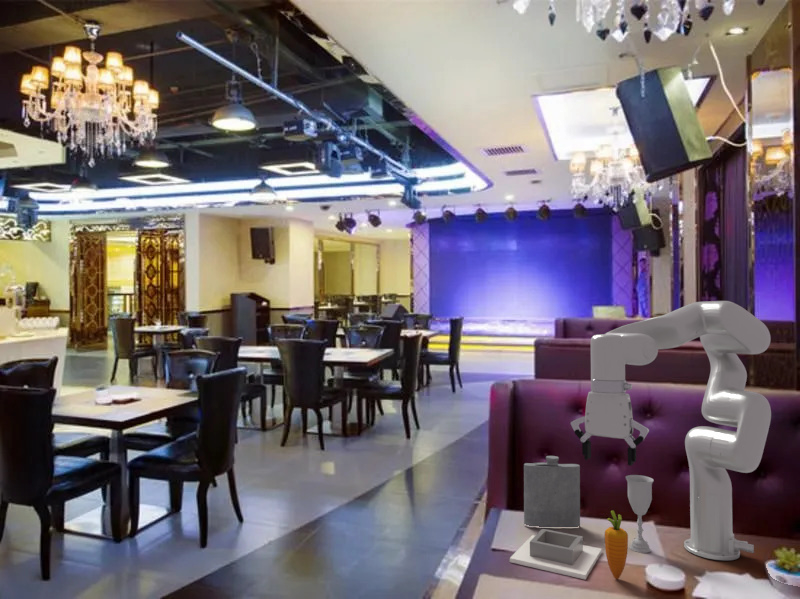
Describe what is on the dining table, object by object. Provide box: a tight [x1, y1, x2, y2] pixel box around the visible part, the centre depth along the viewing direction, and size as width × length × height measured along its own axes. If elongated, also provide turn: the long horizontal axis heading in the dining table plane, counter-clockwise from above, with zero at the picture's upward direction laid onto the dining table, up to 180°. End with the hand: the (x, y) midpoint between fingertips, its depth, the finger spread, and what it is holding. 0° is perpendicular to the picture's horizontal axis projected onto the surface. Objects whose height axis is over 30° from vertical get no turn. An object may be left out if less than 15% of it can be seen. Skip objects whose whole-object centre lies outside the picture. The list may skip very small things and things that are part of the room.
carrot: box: [604, 510, 629, 580], centre depth 130 cm, size 5×5×15 cm
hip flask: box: [523, 455, 581, 527], centre depth 164 cm, size 16×4×20 cm, turn 88°
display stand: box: [509, 528, 603, 580], centre depth 142 cm, size 18×18×4 cm
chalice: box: [625, 474, 655, 554], centre depth 148 cm, size 7×7×18 cm
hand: (608, 461), depth 132 cm, fingers open, 9 cm apart
